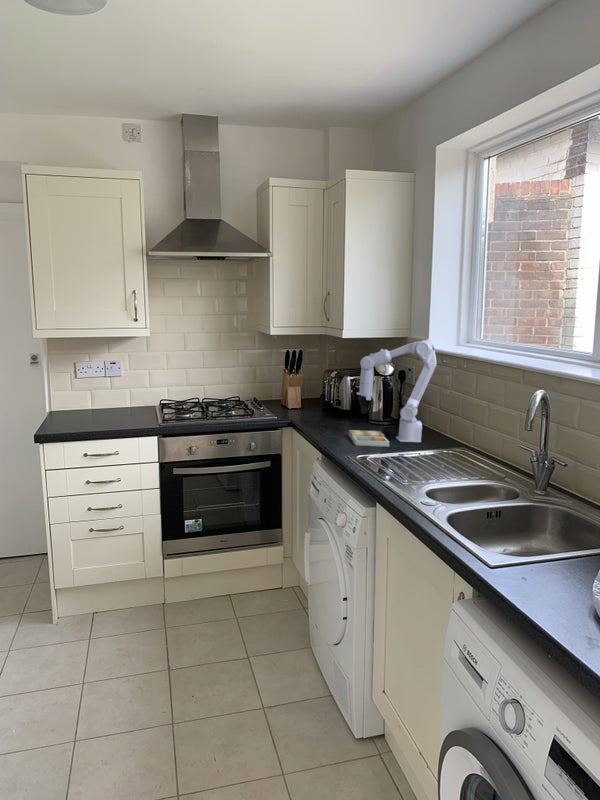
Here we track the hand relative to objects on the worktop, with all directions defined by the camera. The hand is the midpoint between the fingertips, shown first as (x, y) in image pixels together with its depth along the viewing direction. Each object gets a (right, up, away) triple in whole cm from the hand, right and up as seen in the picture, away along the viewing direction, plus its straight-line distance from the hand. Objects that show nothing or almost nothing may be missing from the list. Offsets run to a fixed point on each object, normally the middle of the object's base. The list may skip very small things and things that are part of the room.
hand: (364, 413), depth 270 cm
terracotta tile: (+4, -12, -14) cm, 19 cm away
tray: (+1, -12, -15) cm, 19 cm away
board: (0, -11, -6) cm, 12 cm away
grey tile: (-2, -10, -17) cm, 20 cm away
